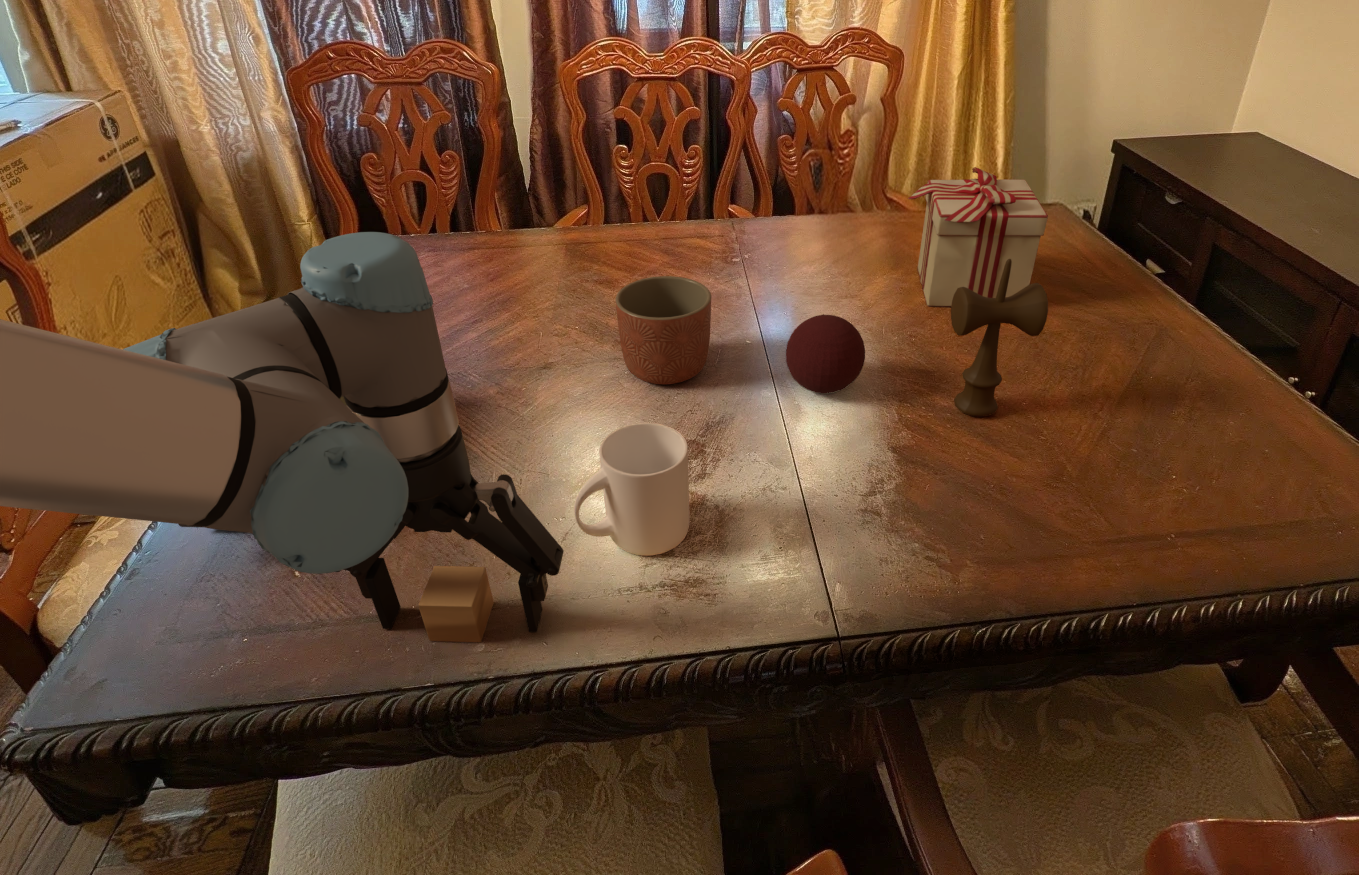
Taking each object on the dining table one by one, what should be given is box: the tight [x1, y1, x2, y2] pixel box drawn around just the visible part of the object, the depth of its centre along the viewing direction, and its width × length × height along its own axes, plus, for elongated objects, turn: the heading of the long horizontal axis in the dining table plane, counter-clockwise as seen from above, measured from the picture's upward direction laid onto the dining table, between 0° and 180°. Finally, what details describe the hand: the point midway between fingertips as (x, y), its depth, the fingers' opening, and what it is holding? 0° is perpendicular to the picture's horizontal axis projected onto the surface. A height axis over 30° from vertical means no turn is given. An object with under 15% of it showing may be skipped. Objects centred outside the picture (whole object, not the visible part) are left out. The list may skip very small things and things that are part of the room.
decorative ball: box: [785, 314, 866, 395], centre depth 102 cm, size 10×10×10 cm
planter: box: [614, 275, 712, 385], centre depth 106 cm, size 12×12×11 cm
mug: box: [573, 422, 691, 556], centre depth 80 cm, size 9×12×11 cm
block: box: [418, 565, 495, 643], centre depth 73 cm, size 5×5×5 cm
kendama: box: [950, 259, 1049, 418], centre depth 94 cm, size 6×10×20 cm, turn 90°
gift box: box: [907, 166, 1049, 308], centre depth 122 cm, size 17×18×17 cm
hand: (463, 619), depth 74 cm, fingers open, 13 cm apart
